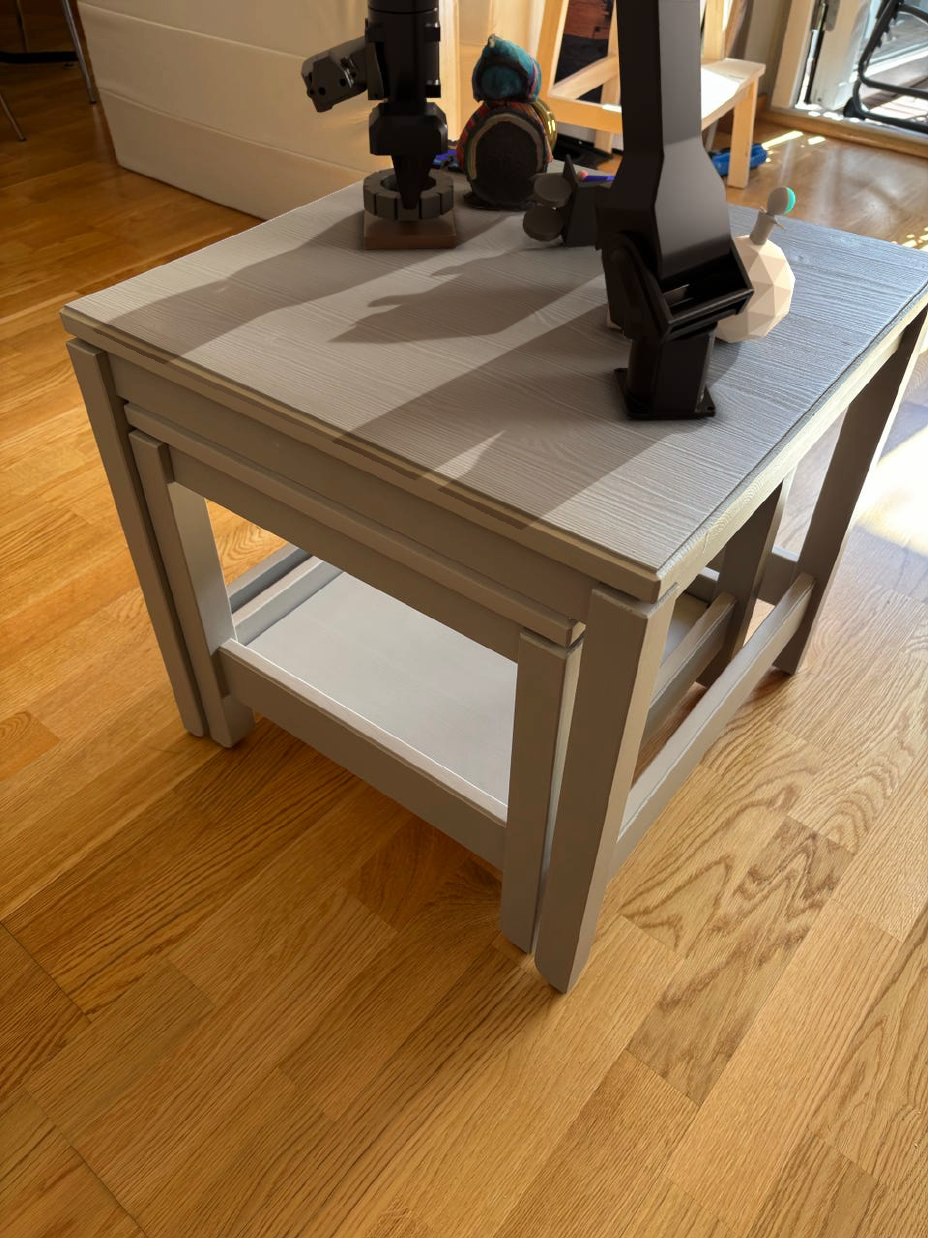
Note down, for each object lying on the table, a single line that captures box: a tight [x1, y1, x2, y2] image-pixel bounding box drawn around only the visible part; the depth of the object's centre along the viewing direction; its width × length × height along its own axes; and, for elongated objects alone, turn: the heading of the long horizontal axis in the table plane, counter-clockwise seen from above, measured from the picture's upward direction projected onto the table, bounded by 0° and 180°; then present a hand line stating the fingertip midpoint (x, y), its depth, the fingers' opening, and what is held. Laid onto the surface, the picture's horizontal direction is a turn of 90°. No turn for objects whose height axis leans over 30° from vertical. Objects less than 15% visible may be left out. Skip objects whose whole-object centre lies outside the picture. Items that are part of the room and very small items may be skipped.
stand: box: [363, 184, 457, 250], centre depth 90 cm, size 8×8×6 cm
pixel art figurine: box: [431, 138, 465, 174], centre depth 108 cm, size 6×1×12 cm
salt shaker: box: [527, 96, 558, 153], centre depth 103 cm, size 7×7×10 cm
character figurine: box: [521, 154, 615, 249], centre depth 89 cm, size 8×7×15 cm
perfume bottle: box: [715, 185, 796, 344], centre depth 74 cm, size 8×8×12 cm
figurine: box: [456, 32, 554, 212], centre depth 93 cm, size 10×7×15 cm
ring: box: [362, 167, 455, 221], centre depth 90 cm, size 8×8×2 cm
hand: (409, 204), depth 88 cm, fingers closed on ring, 2 cm apart
